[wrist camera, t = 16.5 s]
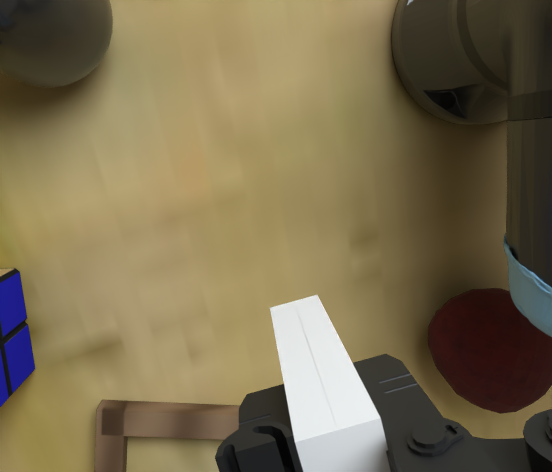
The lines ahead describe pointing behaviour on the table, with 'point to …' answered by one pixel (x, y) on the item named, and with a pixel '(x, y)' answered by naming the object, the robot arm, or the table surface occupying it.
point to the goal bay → (155, 426)
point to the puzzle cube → (13, 335)
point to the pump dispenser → (53, 39)
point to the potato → (491, 351)
